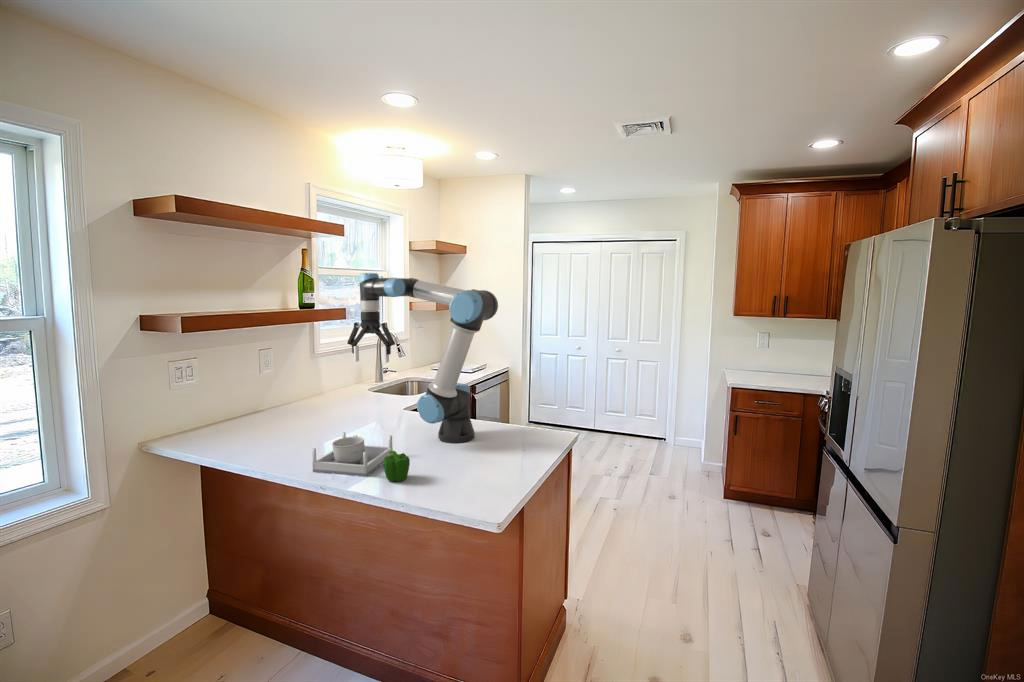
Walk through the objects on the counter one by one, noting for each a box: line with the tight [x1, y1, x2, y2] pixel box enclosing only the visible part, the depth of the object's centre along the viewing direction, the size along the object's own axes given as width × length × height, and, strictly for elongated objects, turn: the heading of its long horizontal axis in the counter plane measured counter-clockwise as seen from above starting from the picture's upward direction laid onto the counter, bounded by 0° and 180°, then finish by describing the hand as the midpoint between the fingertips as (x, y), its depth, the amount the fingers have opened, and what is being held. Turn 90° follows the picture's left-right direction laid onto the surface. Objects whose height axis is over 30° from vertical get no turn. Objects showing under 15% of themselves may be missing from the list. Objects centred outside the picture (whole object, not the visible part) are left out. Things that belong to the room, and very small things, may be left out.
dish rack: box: [311, 431, 394, 477], centre depth 177 cm, size 20×20×8 cm
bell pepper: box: [383, 450, 411, 482], centre depth 163 cm, size 8×8×10 cm
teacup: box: [331, 435, 365, 464], centre depth 177 cm, size 14×11×8 cm
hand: (371, 361), depth 207 cm, fingers open, 13 cm apart
